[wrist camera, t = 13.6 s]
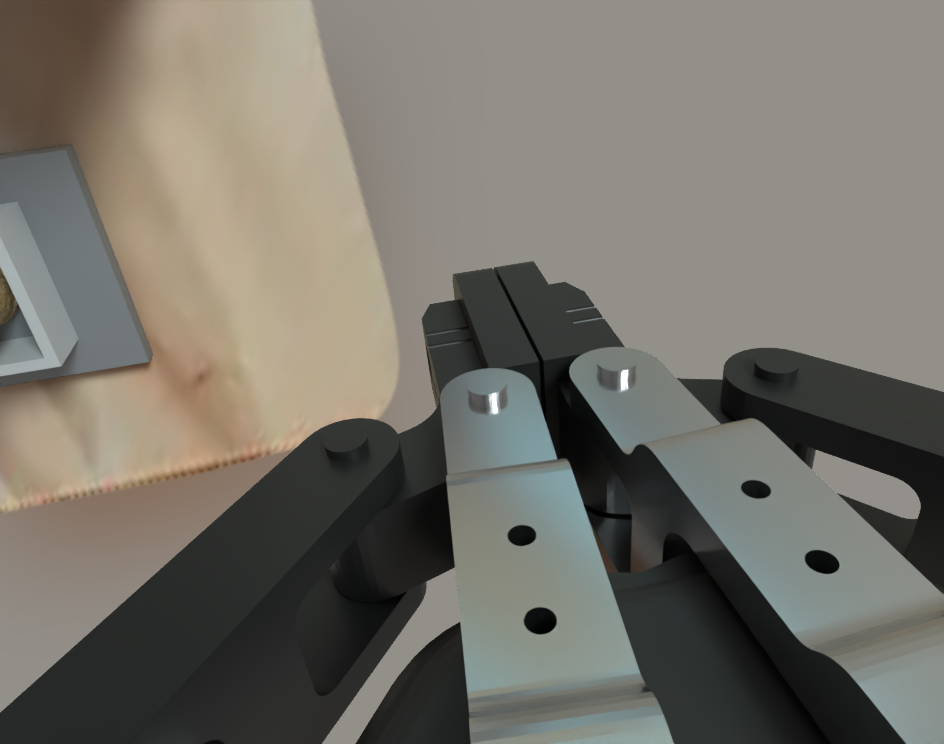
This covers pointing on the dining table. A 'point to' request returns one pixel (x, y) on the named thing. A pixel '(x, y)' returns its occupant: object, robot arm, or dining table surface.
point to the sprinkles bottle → (6, 300)
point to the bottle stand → (60, 274)
